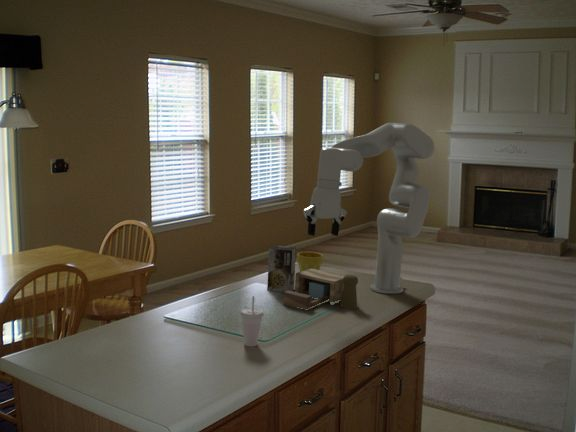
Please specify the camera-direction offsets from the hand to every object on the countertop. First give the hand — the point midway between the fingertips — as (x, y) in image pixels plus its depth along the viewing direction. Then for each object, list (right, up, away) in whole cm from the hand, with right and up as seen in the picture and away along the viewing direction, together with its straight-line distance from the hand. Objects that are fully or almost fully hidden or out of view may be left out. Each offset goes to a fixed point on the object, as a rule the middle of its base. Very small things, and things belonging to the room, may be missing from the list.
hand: (323, 235), depth 223 cm
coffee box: (-15, -21, +21) cm, 34 cm away
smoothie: (-22, -30, -38) cm, 53 cm away
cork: (+9, -25, +5) cm, 27 cm away
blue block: (0, -23, +13) cm, 27 cm away
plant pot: (-3, -19, +41) cm, 46 cm away
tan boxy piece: (0, -23, +14) cm, 27 cm away
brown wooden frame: (-4, -24, +8) cm, 25 cm away
